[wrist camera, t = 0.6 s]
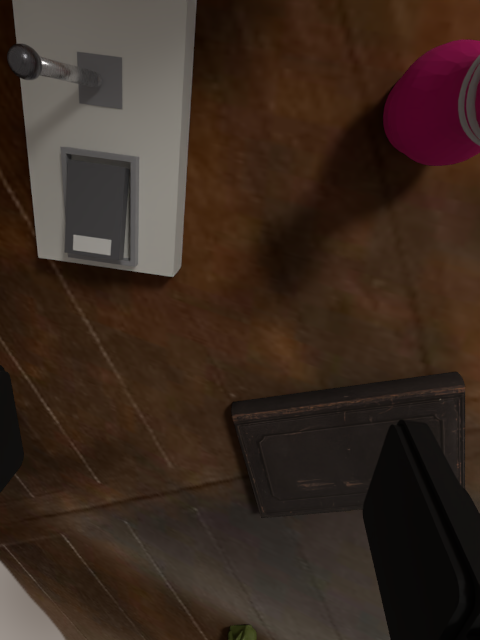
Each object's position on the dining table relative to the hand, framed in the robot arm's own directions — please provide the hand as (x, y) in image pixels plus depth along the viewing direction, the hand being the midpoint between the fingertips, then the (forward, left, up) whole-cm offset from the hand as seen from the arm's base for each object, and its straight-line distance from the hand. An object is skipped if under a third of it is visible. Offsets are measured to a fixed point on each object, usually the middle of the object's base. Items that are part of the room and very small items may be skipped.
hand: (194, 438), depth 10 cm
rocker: (0, -12, -23) cm, 26 cm away
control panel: (-9, -12, -27) cm, 31 cm away
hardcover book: (+23, +14, -28) cm, 39 cm away
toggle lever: (-9, -12, -24) cm, 29 cm away
